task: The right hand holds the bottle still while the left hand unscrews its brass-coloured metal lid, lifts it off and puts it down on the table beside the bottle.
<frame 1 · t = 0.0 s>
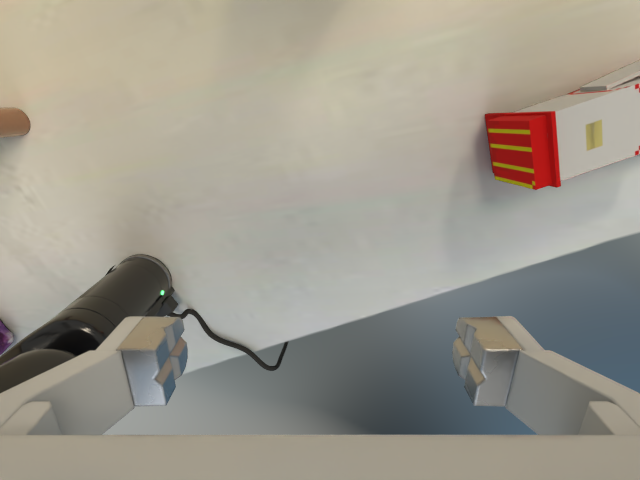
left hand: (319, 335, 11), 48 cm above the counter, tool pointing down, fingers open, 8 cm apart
bottle: (16, 121, 54), on the counter
toy: (578, 115, 54), on the counter
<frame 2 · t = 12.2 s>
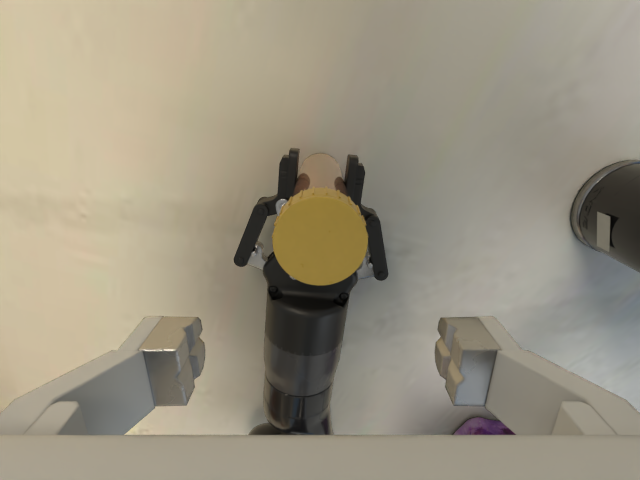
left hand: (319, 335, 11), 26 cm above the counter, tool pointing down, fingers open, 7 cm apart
right hand: (323, 153, 28), fingers closed on bottle, 4 cm apart
lid: (320, 240, 18), point 18 cm above the counter, screwed on, not yet turned
bottle: (320, 174, 35), on the counter, touching right hand
figurine: (476, 441, 48), on the counter
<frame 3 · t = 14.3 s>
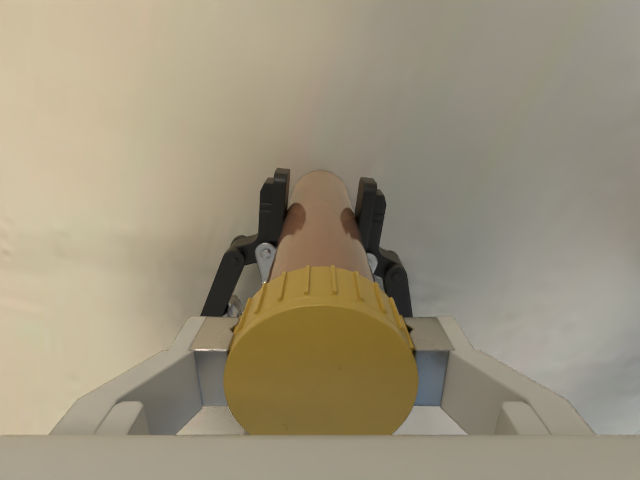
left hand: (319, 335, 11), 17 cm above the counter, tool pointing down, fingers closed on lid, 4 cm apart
lid: (320, 379, 9), point 18 cm above the counter, screwed on, not yet turned, touching left hand
bottle: (320, 198, 26), on the counter, touching right hand
when the left hand's fingers open (17 cm above the counter, at t = 15.5 s): lid stays where it is, point 19 cm above the counter.
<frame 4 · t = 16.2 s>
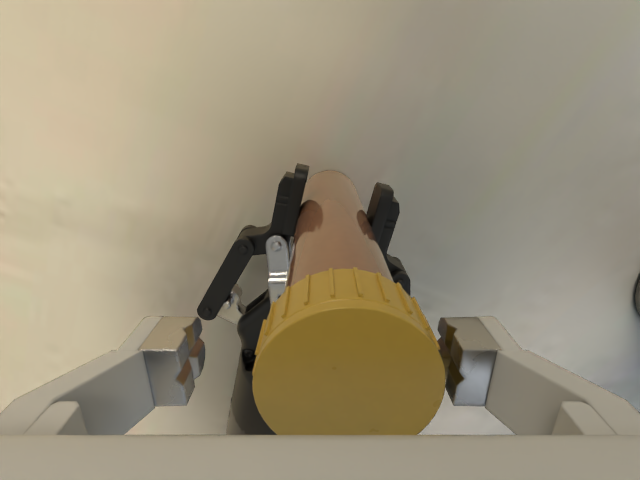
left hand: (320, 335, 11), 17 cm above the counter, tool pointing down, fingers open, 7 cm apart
lid: (347, 380, 9), point 19 cm above the counter, turned 71° so far, risen 0.2 cm, still on its thread
bottle: (329, 197, 26), on the counter, touching right hand
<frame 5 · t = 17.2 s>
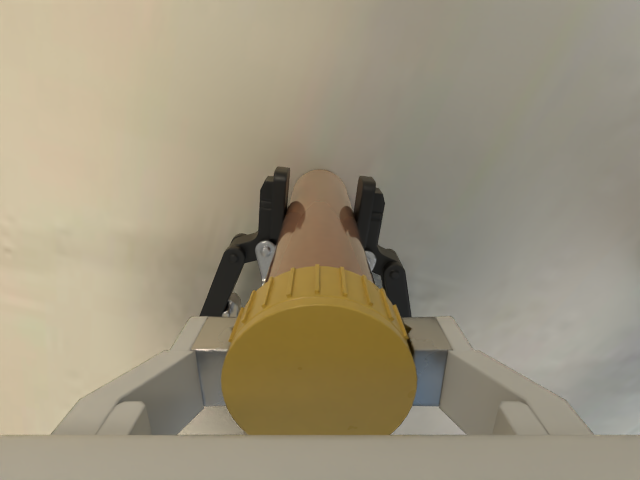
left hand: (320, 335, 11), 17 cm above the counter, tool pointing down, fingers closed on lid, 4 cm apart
lid: (319, 379, 9), point 19 cm above the counter, turned 71° so far, risen 0.3 cm, still on its thread, touching left hand
bottle: (319, 196, 26), on the counter, touching right hand
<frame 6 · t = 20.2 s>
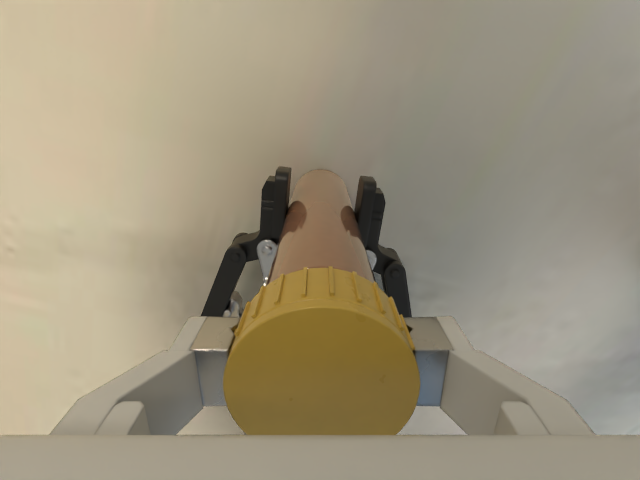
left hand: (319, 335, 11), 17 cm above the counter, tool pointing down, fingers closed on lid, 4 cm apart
lid: (321, 381, 9), point 19 cm above the counter, turned 143° so far, risen 0.5 cm, still on its thread, touching left hand
bottle: (320, 196, 26), on the counter, touching right hand
when the left hand's fingers open (2 cm above the counter, at t = 26.9 s): lid drops 2 cm, point 2 cm above the counter.
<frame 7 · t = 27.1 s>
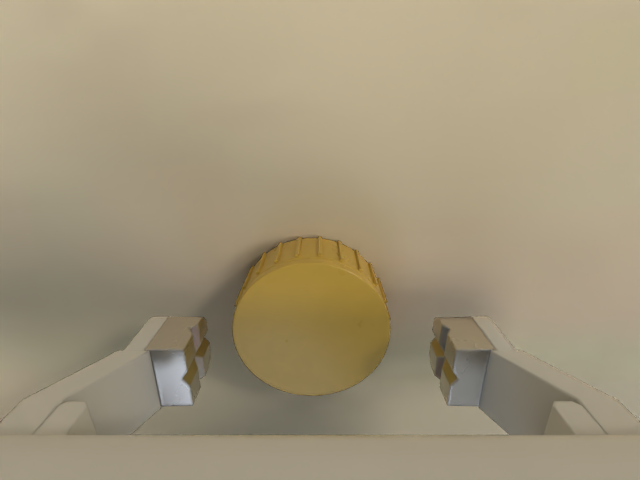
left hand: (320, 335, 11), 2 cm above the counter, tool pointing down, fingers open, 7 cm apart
lid: (311, 328, 11), point 2 cm above the counter, off its thread
when the right hand's fingers open (6 cm above the counter, at t = 27.9 s): bottle stays where it is, on the counter.
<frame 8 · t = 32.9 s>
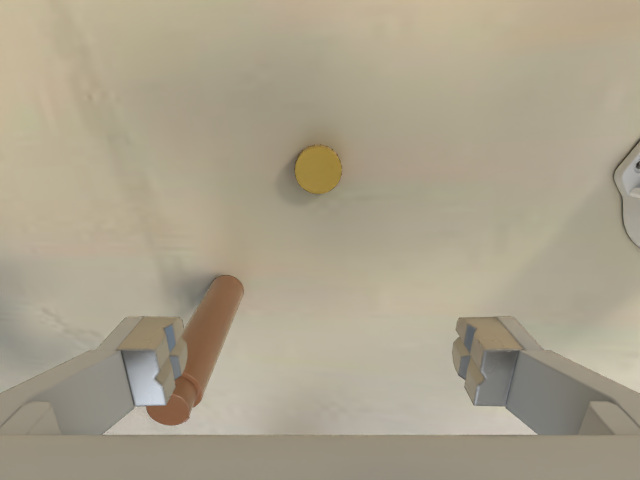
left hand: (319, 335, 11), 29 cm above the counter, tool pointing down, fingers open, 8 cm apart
lid: (318, 170, 37), point 2 cm above the counter, off its thread
bottle: (227, 289, 43), on the counter
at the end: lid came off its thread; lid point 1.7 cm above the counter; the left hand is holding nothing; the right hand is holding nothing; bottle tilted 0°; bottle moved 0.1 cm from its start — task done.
